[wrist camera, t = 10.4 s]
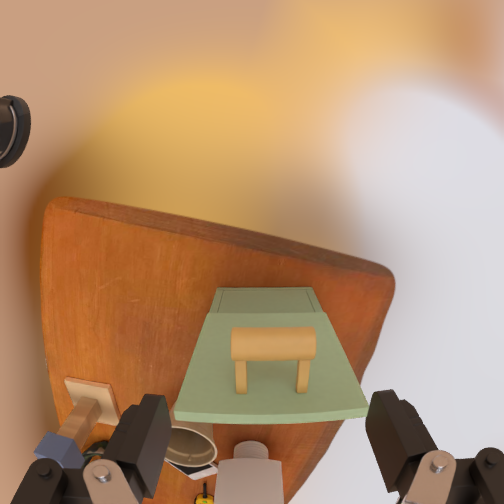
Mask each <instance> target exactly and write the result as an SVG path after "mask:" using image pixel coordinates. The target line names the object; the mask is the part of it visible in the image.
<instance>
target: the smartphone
mask: <svg viewBox="0 0 504 504" xmlns="http://www.w3.org/2000/svg"><path fill="white" fill-rule="evenodd" d="M164 460H165V461H167V462H168V463H170V464H171V465H172V466H174V467H175V468H177V469H178V470H180V471H181V472H183V473H184V474H186V475H187V476H189V477H190V478H192V479H193V480H197V479H200V478H203V477H206V476H209V475H212V474H215V473H218V465H216V464H215V463H213V462H211V463H209V464H207V465H204V466H200V467H187V466H182V465H178V464H175V463H172V462H170V461H168V460H166V459H164Z"/></svg>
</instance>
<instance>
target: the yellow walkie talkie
mask: <svg viewBox="0 0 504 504" xmlns="http://www.w3.org/2000/svg"><path fill="white" fill-rule="evenodd" d="M203 489H204V494H199V495H198V496H197V497H196V499H195V503H194V504H214V498H213V496H211V495H207V494H206V483H204V484H203Z"/></svg>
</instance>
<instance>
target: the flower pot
mask: <svg viewBox="0 0 504 504" xmlns="http://www.w3.org/2000/svg"><path fill="white" fill-rule="evenodd" d="M176 402H177V400H176V401H175V403H174V404H173V406H172V408H171V410H170V412H169V415H170V419H171V424H172V433H171V438H170V441H169V445H168V448H167V452H166V455H165V458H164V459H166V460H168V461H170V462H172V463H175V464H178V465H182V466H187V467H200V466H204V465H207V464H209V463H211V462H213V461H214V460H215V458H216V457H217V447H216V445H215V442H214V439H213V423H204V422H190V421H179V420H175V416H174V408H175V405H176Z"/></svg>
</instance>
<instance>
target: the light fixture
mask: <svg viewBox="0 0 504 504" xmlns="http://www.w3.org/2000/svg"><path fill="white" fill-rule="evenodd" d="M214 504H284V497H283V482H282V467H281V461H276V460H269V459H268V449H267V448H266V446H265V445H264V444H262V443H260V442H257V441H245V442H241V443H239V444H238V445H236V446H235V448H234V456H233V459H227V460H221V461H219V465H218V473H217V481H216V489H215V497H214Z"/></svg>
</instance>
